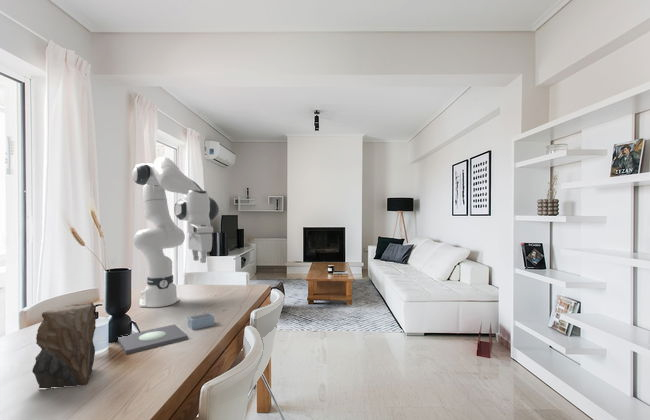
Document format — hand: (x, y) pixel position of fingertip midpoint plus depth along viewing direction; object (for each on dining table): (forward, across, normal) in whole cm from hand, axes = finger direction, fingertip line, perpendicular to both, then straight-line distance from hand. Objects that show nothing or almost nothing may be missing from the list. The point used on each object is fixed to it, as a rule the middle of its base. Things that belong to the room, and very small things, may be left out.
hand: (199, 261), depth 136 cm
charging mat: (+26, +4, -19) cm, 33 cm away
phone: (+27, 0, 0) cm, 27 cm away
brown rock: (+27, +22, -43) cm, 55 cm away
